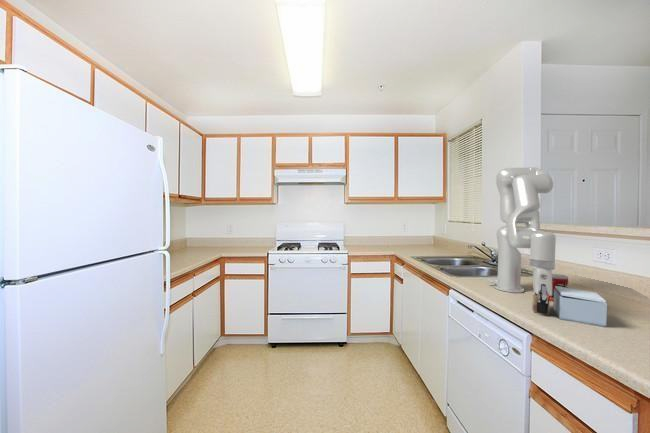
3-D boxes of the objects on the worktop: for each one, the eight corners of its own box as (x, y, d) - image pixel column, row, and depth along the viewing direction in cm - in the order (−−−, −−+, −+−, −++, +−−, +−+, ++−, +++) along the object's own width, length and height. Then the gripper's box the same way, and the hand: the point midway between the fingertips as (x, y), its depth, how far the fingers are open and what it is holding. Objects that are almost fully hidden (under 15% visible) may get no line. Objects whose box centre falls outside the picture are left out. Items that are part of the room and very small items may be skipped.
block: (533, 312, 104) (534, 297, 104) (532, 309, 108) (532, 294, 108) (548, 315, 102) (549, 299, 102) (546, 311, 106) (547, 296, 106)
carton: (559, 319, 98) (560, 297, 98) (553, 309, 109) (554, 289, 108) (606, 327, 92) (607, 303, 92) (594, 315, 102) (595, 294, 102)
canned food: (549, 301, 117) (550, 276, 117) (541, 296, 125) (542, 272, 124) (571, 304, 115) (572, 278, 114) (562, 298, 122) (563, 274, 122)
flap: (561, 295, 98) (561, 293, 98) (555, 287, 108) (555, 285, 108) (605, 303, 92) (606, 300, 92) (595, 294, 102) (595, 292, 102)
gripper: (559, 269, 95) (557, 319, 96) (550, 261, 110) (548, 305, 111) (532, 267, 99) (531, 315, 100) (527, 259, 114) (526, 301, 115)
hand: (540, 309), depth 105 cm, fingers open, 7 cm apart
